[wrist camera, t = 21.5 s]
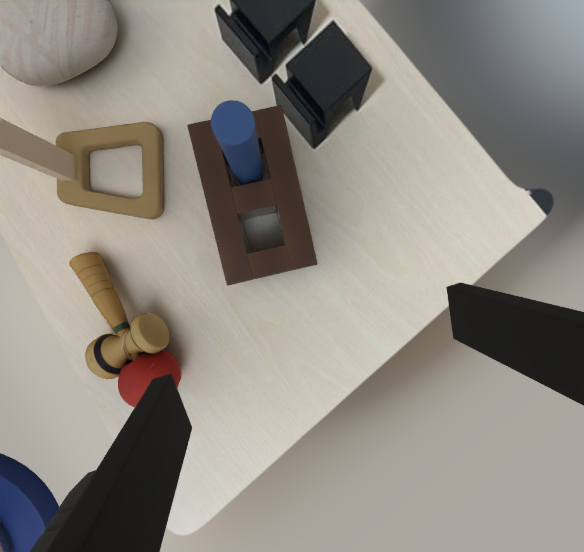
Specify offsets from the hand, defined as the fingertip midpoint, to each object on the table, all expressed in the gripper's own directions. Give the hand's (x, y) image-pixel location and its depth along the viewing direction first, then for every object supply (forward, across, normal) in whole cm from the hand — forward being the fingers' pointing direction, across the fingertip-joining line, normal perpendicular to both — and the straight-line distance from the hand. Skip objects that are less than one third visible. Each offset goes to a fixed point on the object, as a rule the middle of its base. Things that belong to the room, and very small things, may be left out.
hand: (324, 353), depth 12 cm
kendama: (+22, -17, -1) cm, 28 cm away
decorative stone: (+27, -15, +30) cm, 43 cm away
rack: (+22, 0, +9) cm, 24 cm away
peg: (+22, 0, +12) cm, 26 cm away
